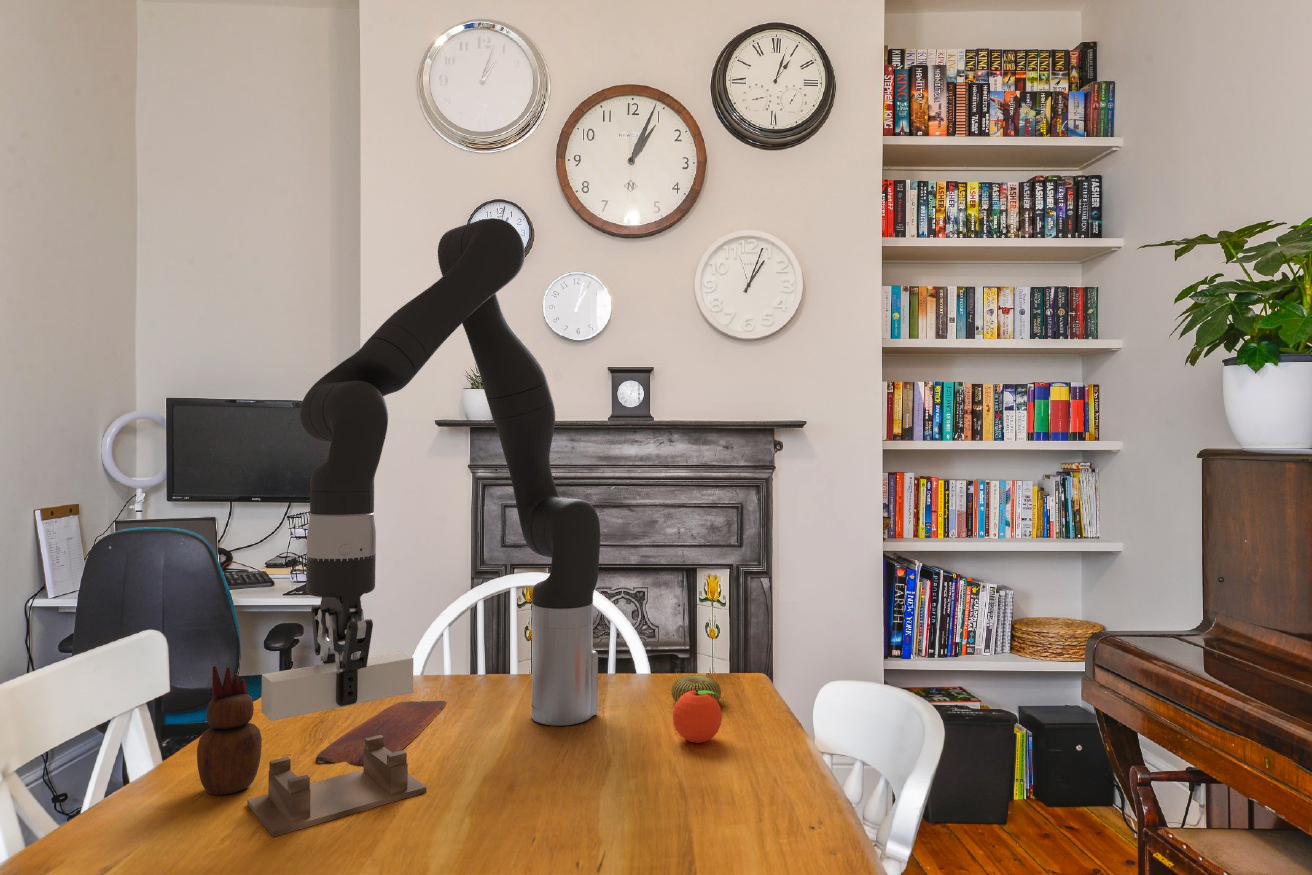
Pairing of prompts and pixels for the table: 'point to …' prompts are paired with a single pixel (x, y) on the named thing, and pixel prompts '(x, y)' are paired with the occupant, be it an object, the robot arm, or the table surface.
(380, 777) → the rack
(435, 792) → the table surface
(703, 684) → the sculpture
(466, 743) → the table surface
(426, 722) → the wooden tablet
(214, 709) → the wooden figurine
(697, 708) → the clementine
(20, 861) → the table surface
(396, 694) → the white rectangular block
